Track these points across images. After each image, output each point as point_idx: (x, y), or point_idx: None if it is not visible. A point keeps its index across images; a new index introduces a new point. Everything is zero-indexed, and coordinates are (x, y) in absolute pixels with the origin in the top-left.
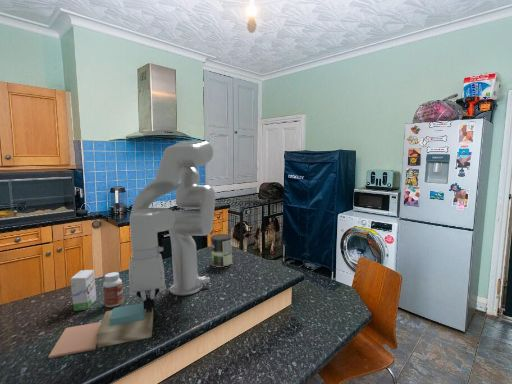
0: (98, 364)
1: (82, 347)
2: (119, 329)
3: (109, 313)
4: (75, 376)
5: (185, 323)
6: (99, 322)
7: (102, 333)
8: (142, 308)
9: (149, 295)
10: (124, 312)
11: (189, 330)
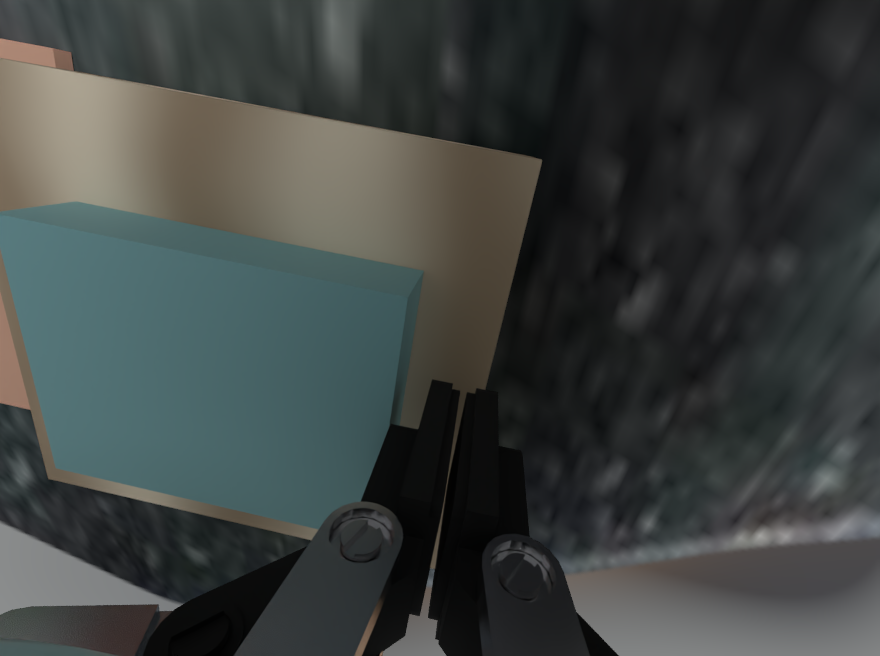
0: (184, 544)
1: None
2: (204, 512)
3: (11, 147)
4: (110, 562)
5: (730, 461)
6: (3, 50)
7: (90, 484)
8: (370, 437)
9: (451, 594)
10: (169, 415)
11: (705, 548)
